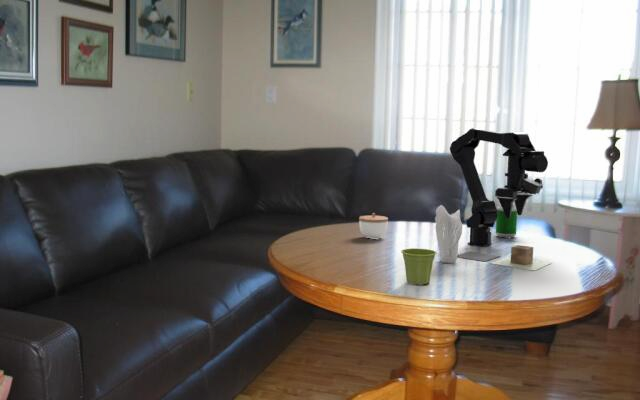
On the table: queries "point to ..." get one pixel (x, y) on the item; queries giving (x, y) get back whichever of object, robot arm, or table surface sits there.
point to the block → (521, 255)
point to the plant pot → (418, 265)
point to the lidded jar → (373, 225)
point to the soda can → (506, 223)
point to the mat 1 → (477, 256)
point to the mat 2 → (532, 266)
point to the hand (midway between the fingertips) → (514, 216)
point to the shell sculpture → (448, 234)
